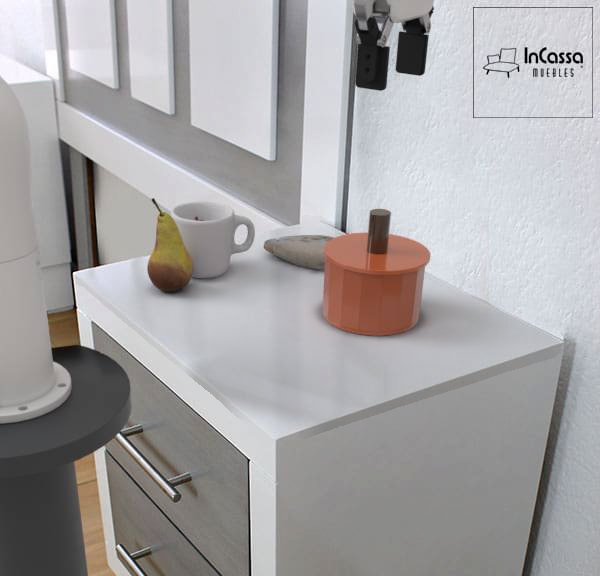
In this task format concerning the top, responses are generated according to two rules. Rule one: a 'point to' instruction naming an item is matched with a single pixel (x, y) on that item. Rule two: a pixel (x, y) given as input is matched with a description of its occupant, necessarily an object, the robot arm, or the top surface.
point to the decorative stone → (300, 249)
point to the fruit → (169, 256)
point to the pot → (371, 300)
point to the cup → (210, 235)
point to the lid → (377, 249)
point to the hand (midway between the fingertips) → (390, 80)
